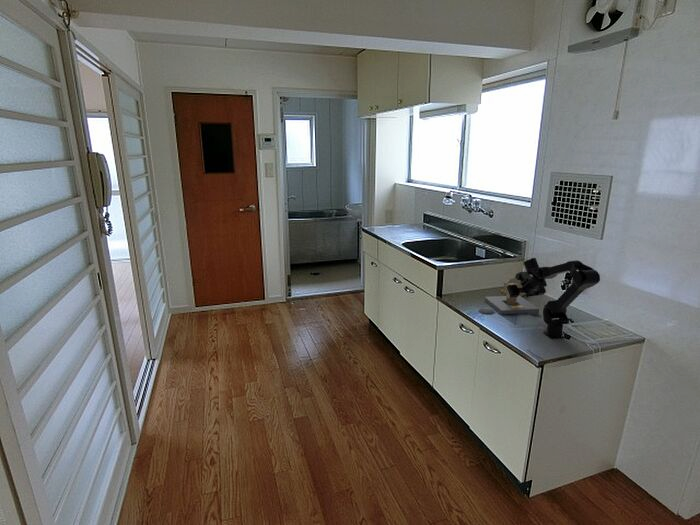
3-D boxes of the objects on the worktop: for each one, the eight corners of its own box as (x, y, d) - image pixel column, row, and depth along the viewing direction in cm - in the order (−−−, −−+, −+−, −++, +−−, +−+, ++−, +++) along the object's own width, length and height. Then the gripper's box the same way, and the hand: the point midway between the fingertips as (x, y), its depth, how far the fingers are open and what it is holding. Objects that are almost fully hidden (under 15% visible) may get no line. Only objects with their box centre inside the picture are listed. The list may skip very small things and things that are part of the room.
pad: (497, 316, 200) (497, 314, 199) (482, 316, 199) (482, 315, 199) (490, 310, 207) (490, 308, 207) (475, 310, 207) (475, 309, 206)
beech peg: (515, 310, 207) (518, 286, 203) (505, 308, 209) (507, 285, 205) (515, 306, 211) (518, 283, 208) (505, 305, 213) (508, 282, 210)
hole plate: (538, 314, 202) (539, 308, 201) (501, 316, 200) (501, 310, 199) (518, 300, 221) (519, 295, 220) (484, 302, 219) (484, 296, 218)
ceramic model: (504, 296, 228) (505, 279, 225) (498, 289, 239) (500, 274, 236) (529, 296, 227) (531, 280, 224) (522, 290, 238) (524, 274, 235)
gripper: (544, 267, 195) (528, 281, 208) (510, 269, 192) (496, 284, 205) (553, 287, 190) (536, 300, 203) (518, 289, 186) (503, 303, 199)
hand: (518, 296), depth 203 cm, fingers open, 9 cm apart
